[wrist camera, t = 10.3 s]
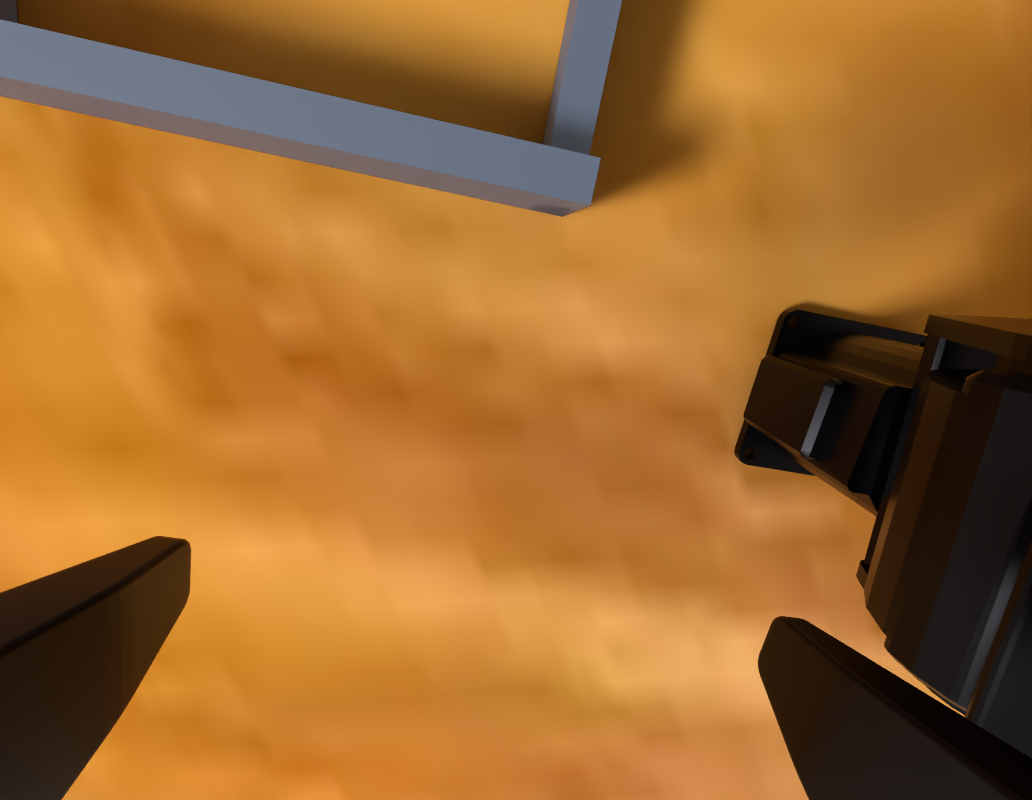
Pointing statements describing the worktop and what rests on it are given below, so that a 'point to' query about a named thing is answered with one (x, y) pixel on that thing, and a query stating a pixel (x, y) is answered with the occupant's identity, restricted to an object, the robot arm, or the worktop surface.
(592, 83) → the blue-grey rectangular tray
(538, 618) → the worktop surface
